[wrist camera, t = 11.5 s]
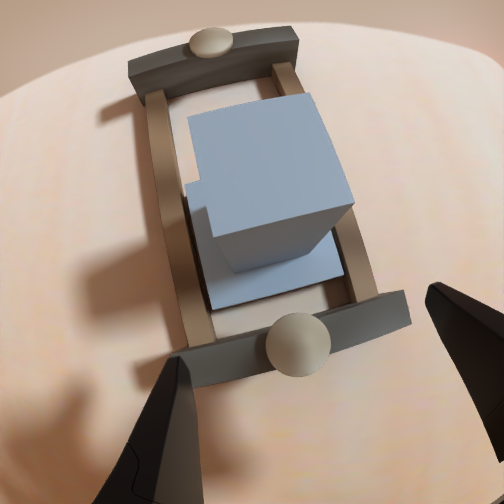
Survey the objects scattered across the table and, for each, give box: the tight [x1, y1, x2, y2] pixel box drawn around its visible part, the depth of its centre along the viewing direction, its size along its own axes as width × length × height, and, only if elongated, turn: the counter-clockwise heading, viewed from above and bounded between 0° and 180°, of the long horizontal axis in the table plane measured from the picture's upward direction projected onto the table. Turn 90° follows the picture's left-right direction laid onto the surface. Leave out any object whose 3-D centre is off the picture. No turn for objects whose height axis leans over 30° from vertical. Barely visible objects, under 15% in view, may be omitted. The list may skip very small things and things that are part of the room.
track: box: [128, 26, 412, 388], centre depth 19 cm, size 24×13×5 cm, turn 14°
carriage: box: [185, 93, 355, 310], centre depth 15 cm, size 8×8×10 cm
